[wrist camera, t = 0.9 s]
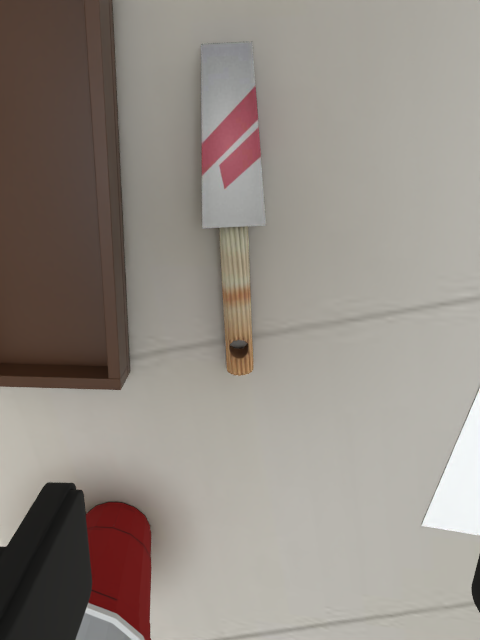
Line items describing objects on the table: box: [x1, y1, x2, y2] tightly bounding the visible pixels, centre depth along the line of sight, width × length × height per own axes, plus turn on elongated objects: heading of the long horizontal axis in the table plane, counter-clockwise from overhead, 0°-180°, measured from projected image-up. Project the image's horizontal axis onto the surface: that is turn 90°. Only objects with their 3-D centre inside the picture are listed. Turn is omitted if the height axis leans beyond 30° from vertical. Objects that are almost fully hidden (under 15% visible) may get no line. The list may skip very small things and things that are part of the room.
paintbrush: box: [201, 42, 266, 376], centre depth 28 cm, size 4×3×20 cm
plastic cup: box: [76, 502, 151, 640], centre depth 31 cm, size 11×11×12 cm
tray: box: [0, 0, 130, 390], centre depth 27 cm, size 26×11×3 cm, turn 178°
